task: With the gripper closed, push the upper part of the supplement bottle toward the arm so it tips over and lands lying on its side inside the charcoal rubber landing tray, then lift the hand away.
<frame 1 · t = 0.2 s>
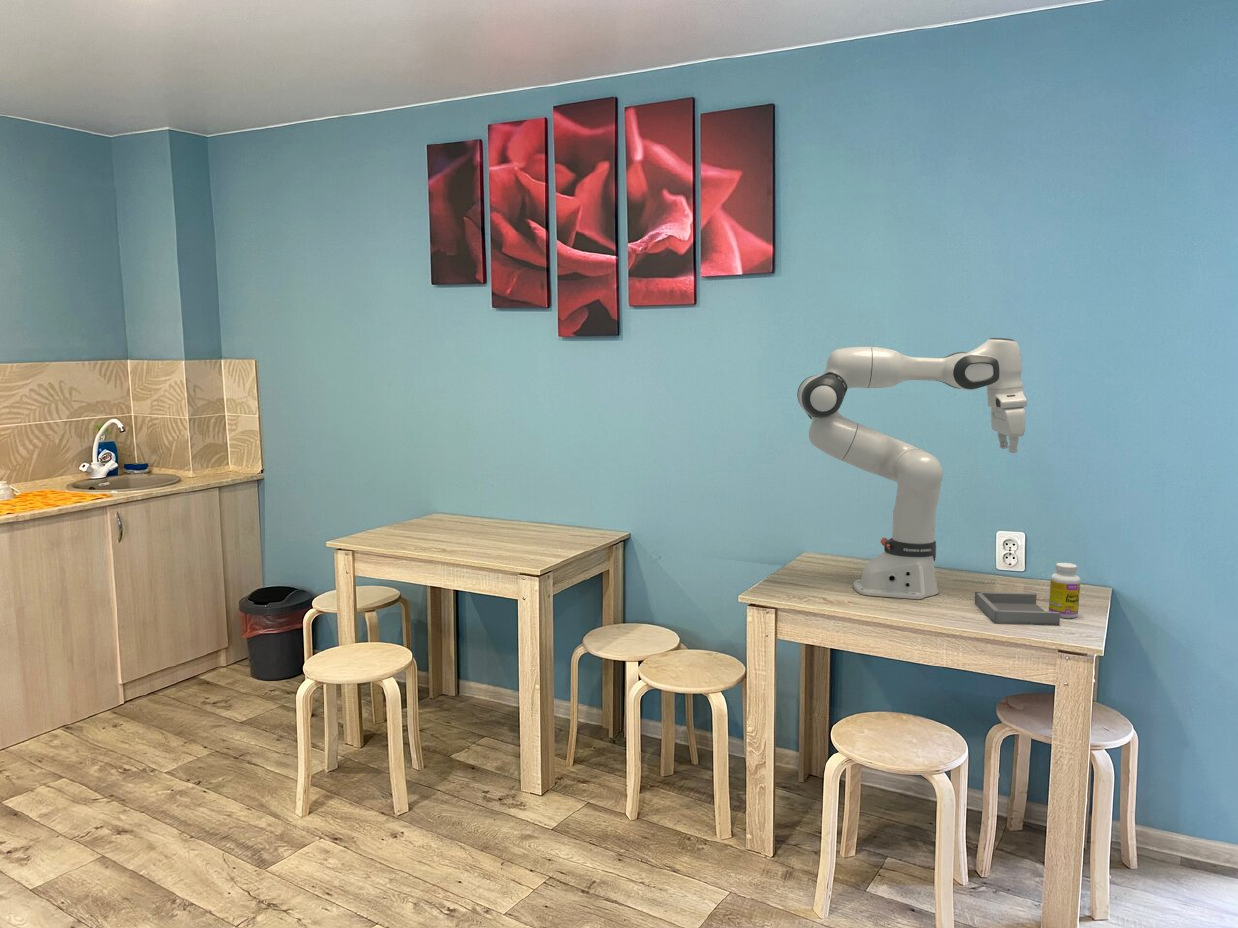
hand: (1008, 450, 247), 39 cm above the table, tool pointing down, fingers open, 8 cm apart
supplement bottle: (1063, 615, 232), on the table
landing tray: (1015, 613, 233), on the table
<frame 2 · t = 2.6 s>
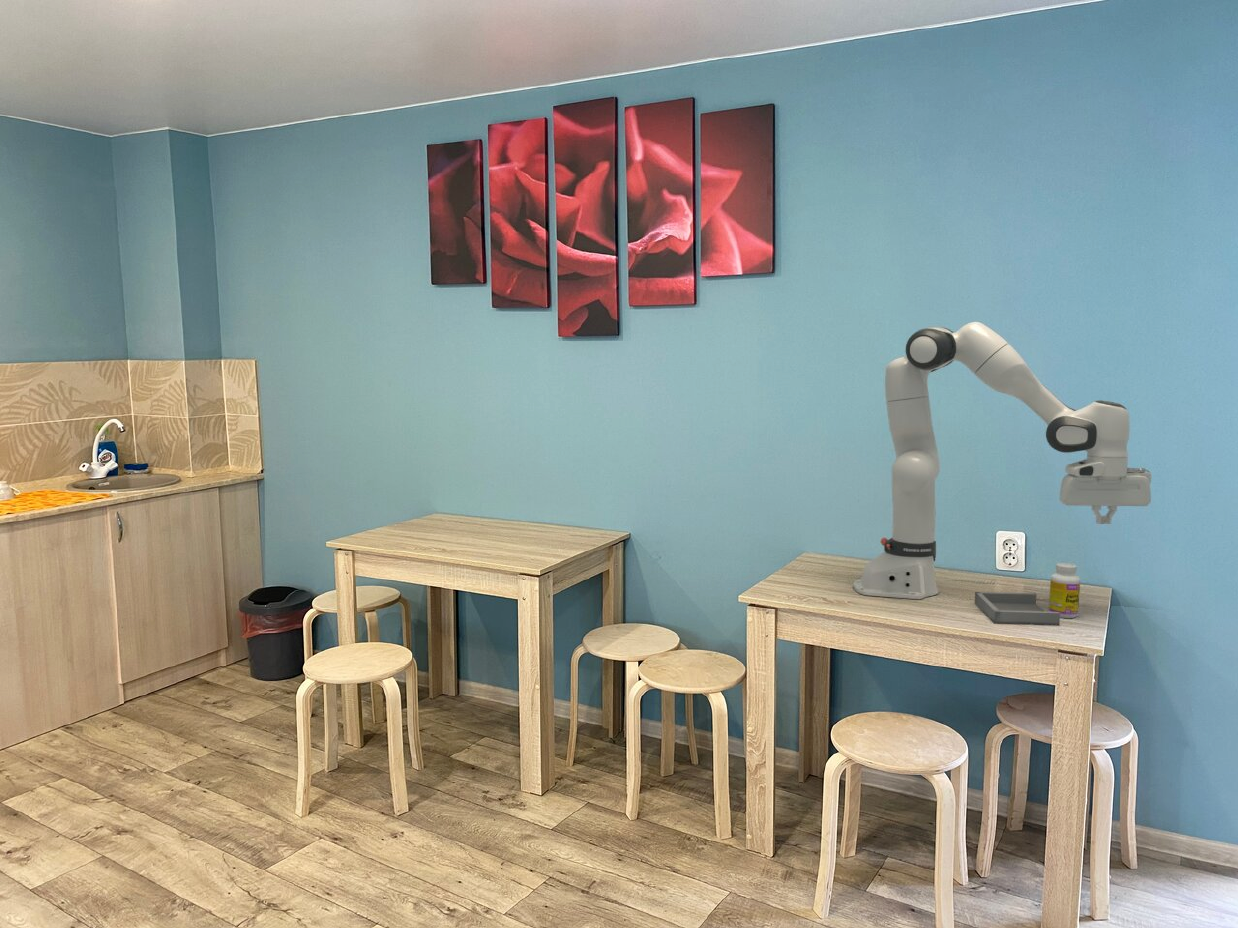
hand: (1103, 523, 228), 23 cm above the table, tool pointing down, fingers closed
nothing on the table moved.
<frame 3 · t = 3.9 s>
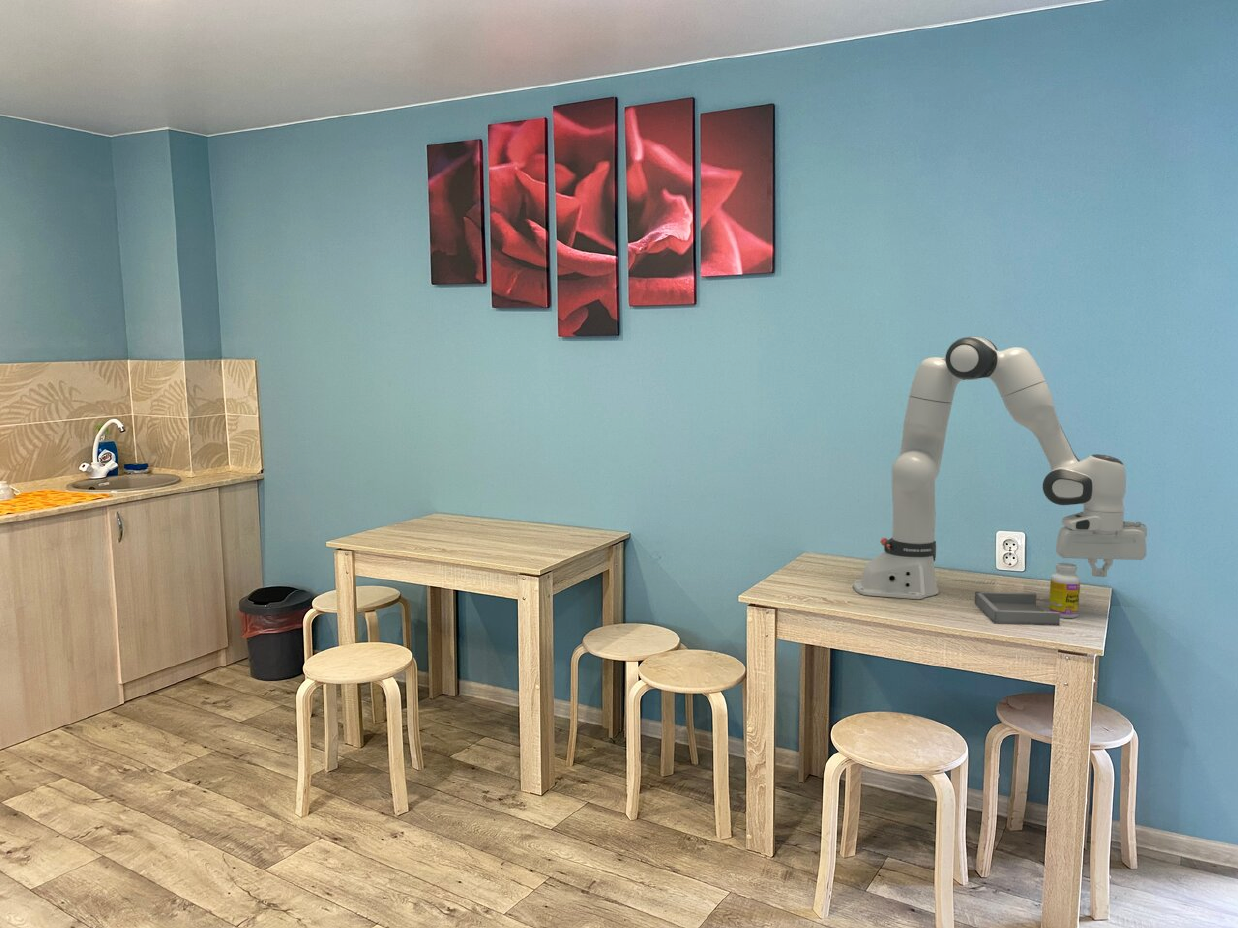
hand: (1099, 576, 230), 10 cm above the table, tool pointing down, fingers closed
nothing on the table moved.
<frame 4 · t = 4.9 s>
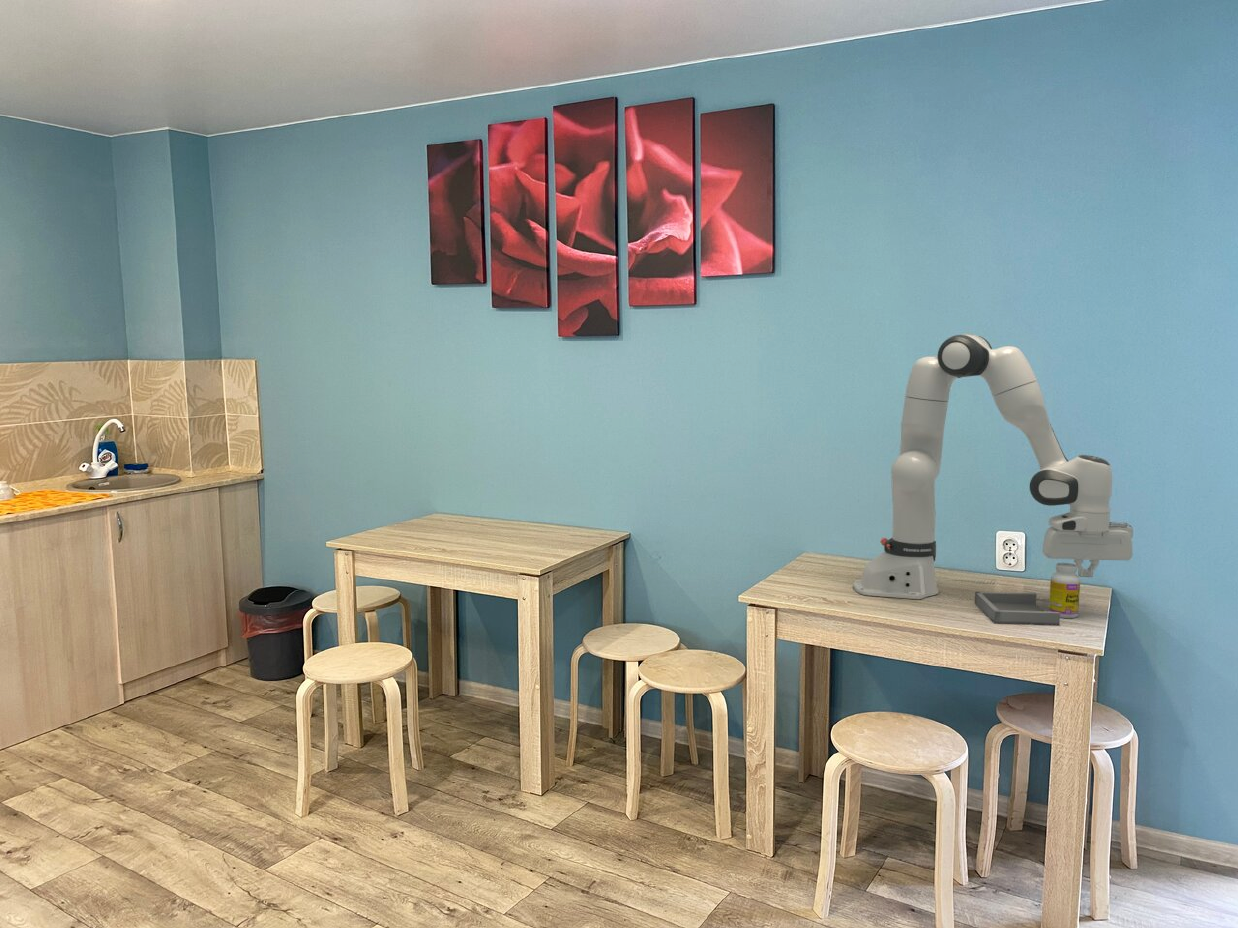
hand: (1085, 576, 230), 10 cm above the table, tool pointing down, fingers closed
supplement bottle: (1063, 615, 232), on the table, touching gripper
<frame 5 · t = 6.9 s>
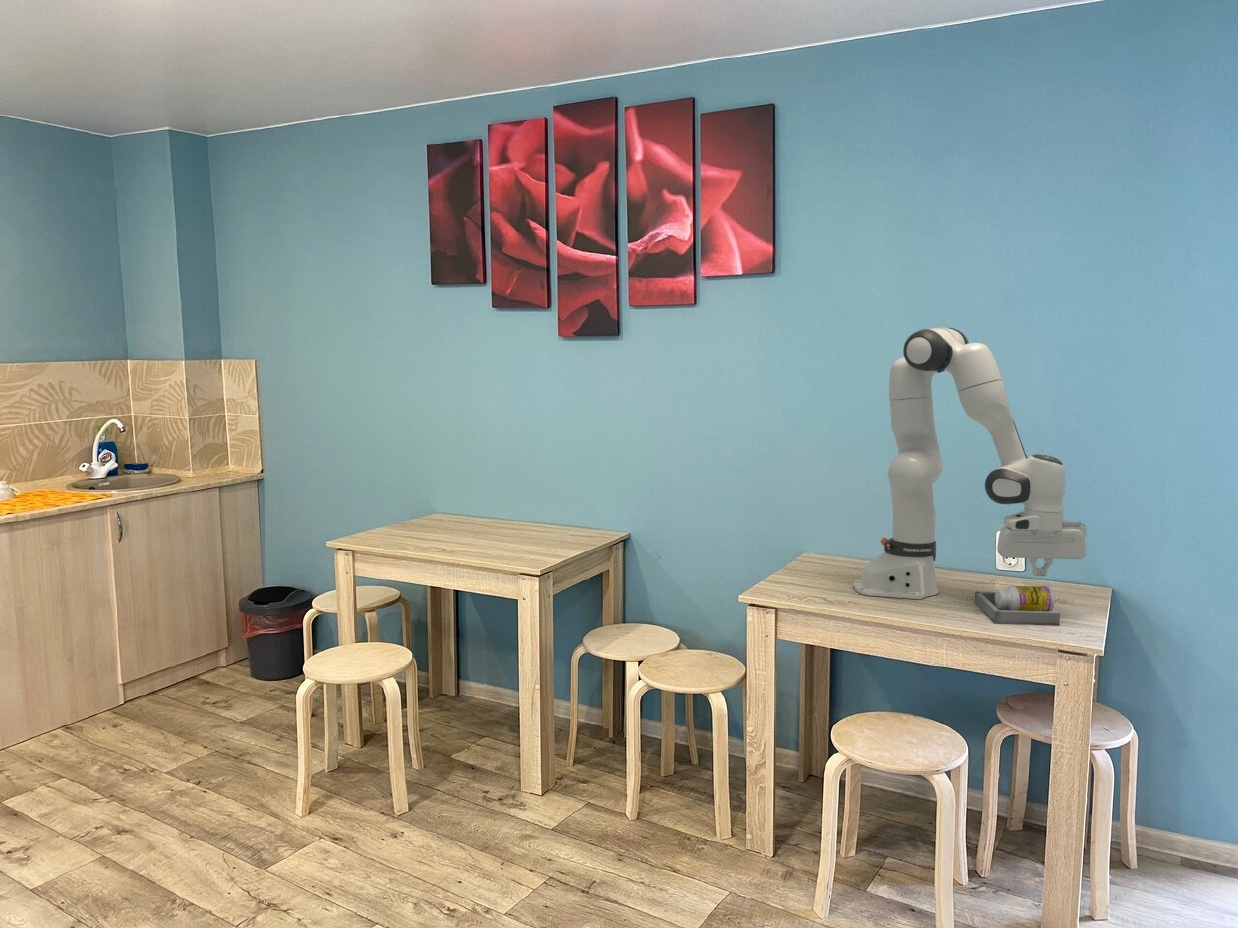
hand: (1039, 575, 231), 10 cm above the table, tool pointing down, fingers closed
supplement bottle: (1050, 599, 232), point 4 cm above the table, touching landing tray
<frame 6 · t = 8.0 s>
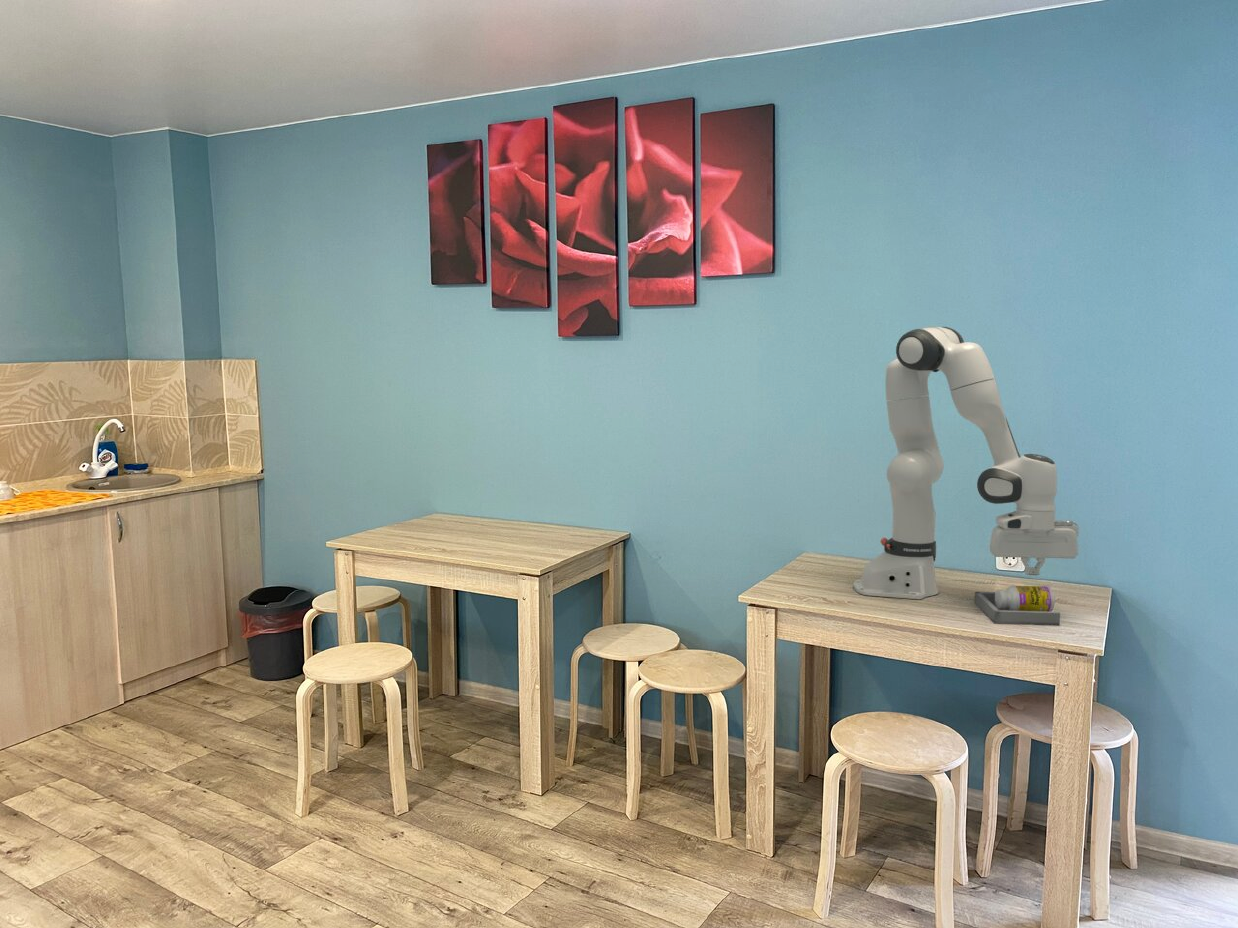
hand: (1032, 574, 231), 10 cm above the table, tool pointing down, fingers closed
nothing on the table moved.
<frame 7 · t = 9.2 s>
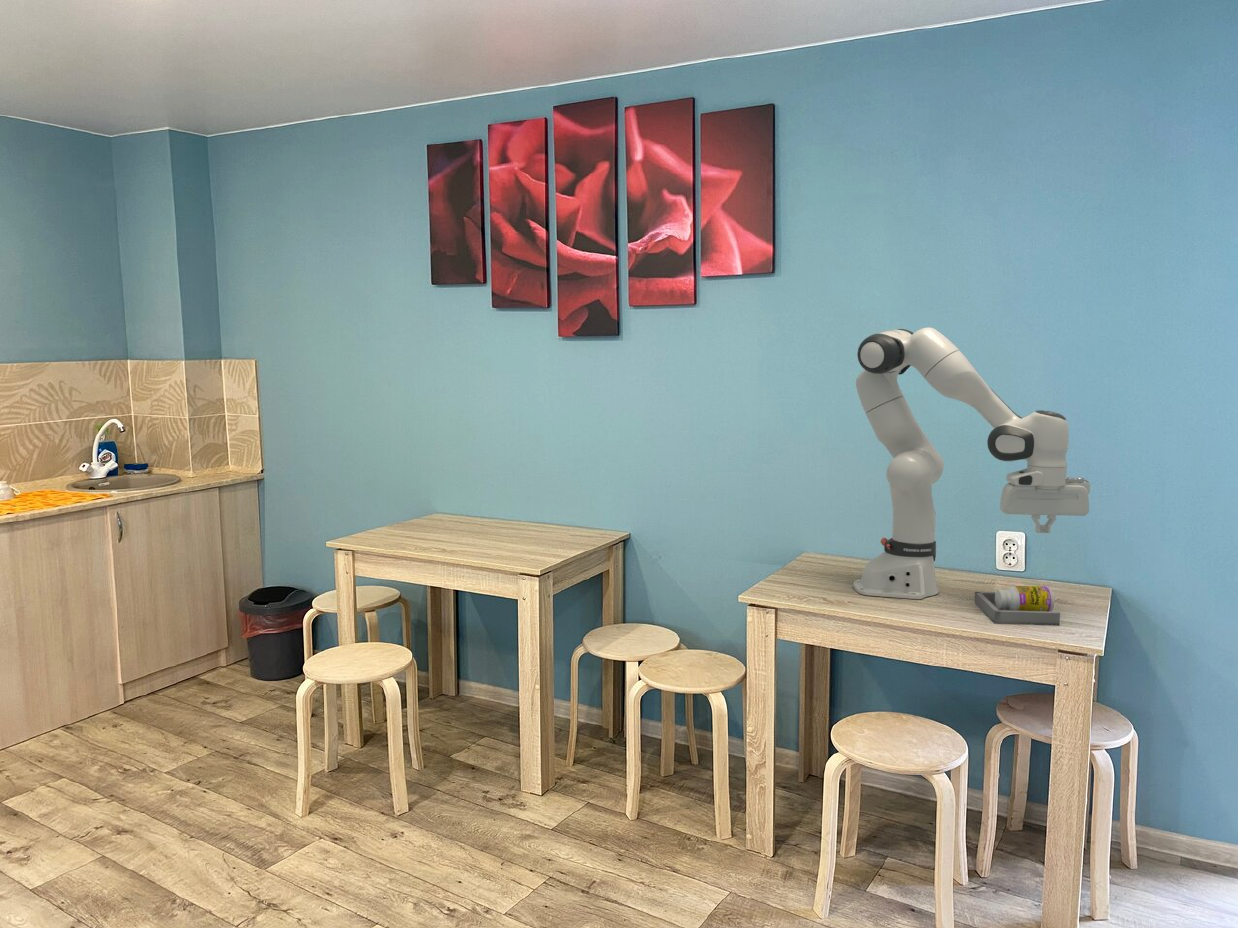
hand: (1042, 532, 230), 21 cm above the table, tool pointing down, fingers closed
nothing on the table moved.
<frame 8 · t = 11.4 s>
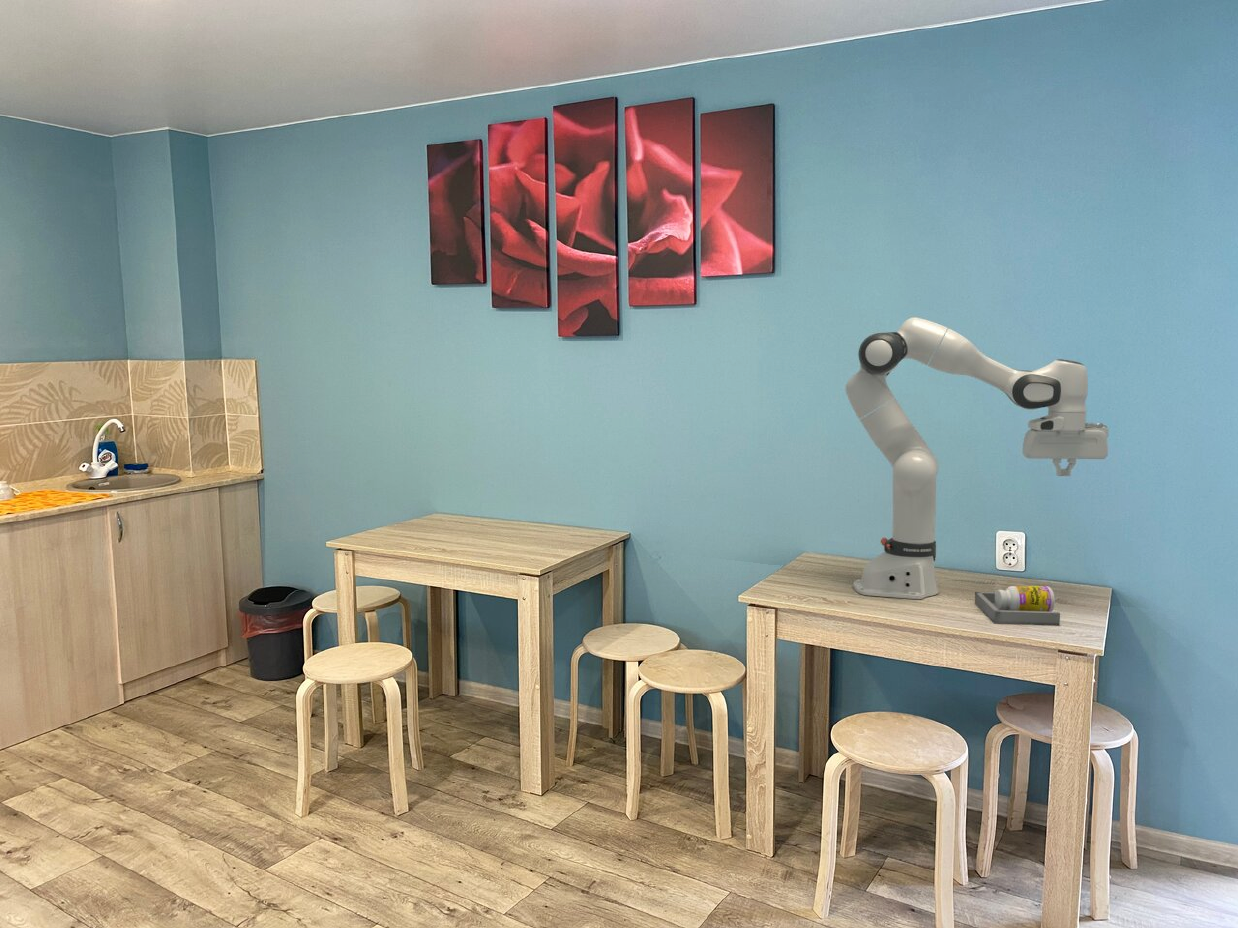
hand: (1063, 476, 241), 33 cm above the table, tool pointing down, fingers closed
nothing on the table moved.
at the end: supplement bottle tilted 90°; supplement bottle touching landing tray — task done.
